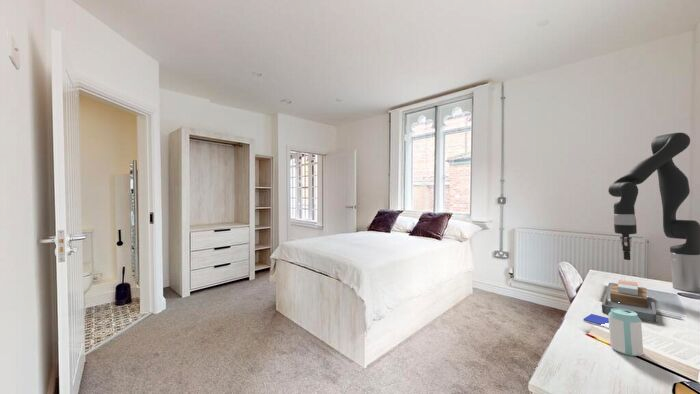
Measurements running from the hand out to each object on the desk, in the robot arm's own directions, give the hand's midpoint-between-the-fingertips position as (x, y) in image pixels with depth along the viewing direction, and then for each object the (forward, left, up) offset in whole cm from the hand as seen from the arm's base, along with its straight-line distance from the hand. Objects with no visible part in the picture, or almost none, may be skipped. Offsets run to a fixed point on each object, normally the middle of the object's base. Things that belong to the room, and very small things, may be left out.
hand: (627, 259), depth 129 cm
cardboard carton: (+9, +7, -16) cm, 20 cm away
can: (+53, +43, -16) cm, 70 cm away
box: (+22, +18, -16) cm, 33 cm away
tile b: (+12, +9, -12) cm, 19 cm away
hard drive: (+40, +27, -16) cm, 51 cm away
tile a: (+7, +5, -12) cm, 14 cm away
